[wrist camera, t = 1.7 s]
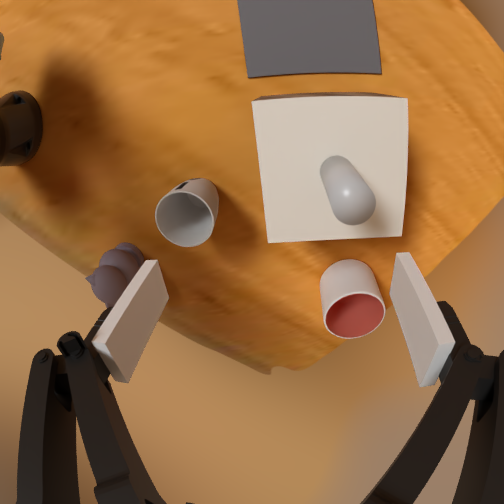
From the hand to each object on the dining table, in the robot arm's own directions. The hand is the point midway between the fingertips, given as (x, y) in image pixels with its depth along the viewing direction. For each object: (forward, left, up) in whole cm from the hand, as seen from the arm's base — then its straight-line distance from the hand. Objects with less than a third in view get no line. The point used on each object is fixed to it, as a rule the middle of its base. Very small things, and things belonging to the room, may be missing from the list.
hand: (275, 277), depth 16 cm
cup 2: (+10, -24, -32) cm, 41 cm away
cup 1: (-13, -6, -32) cm, 35 cm away
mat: (+6, +20, -32) cm, 38 cm away
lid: (+6, 0, -20) cm, 20 cm away
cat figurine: (-30, -17, -32) cm, 47 cm away
